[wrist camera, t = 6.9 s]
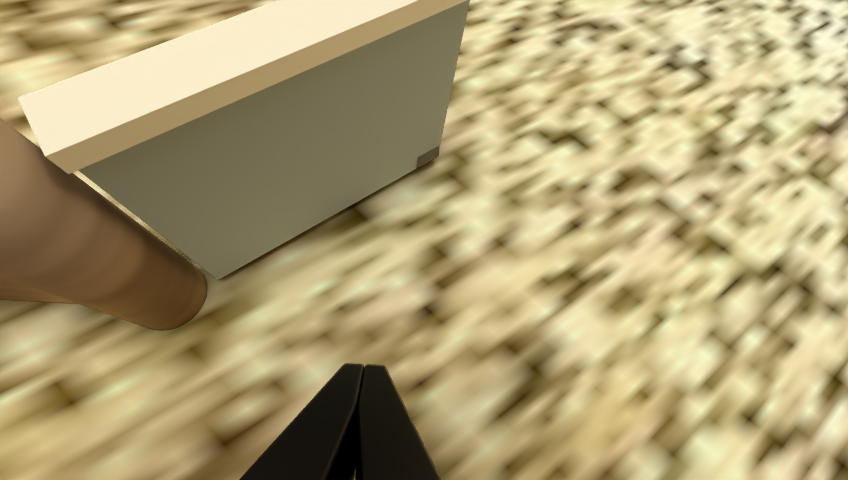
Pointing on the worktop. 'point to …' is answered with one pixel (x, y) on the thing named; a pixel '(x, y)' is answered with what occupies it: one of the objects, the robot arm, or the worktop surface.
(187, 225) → the cream flat slab
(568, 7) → the worktop surface
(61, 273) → the fence
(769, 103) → the worktop surface
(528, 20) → the worktop surface
